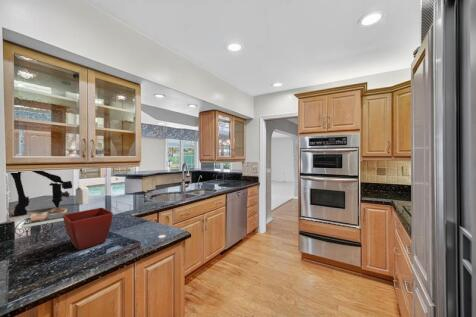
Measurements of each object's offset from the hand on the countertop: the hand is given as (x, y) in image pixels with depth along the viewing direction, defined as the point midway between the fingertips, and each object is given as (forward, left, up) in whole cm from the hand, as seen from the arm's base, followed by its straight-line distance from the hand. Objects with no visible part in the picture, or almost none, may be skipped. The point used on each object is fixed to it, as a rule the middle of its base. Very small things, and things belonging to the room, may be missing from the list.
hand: (57, 207), depth 176 cm
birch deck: (-5, -11, -2) cm, 12 cm away
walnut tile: (0, -11, -1) cm, 11 cm away
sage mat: (-5, -26, -2) cm, 26 cm away
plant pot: (+14, -95, -3) cm, 96 cm away
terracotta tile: (-10, -23, -2) cm, 25 cm away
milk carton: (+18, +9, -3) cm, 20 cm away
